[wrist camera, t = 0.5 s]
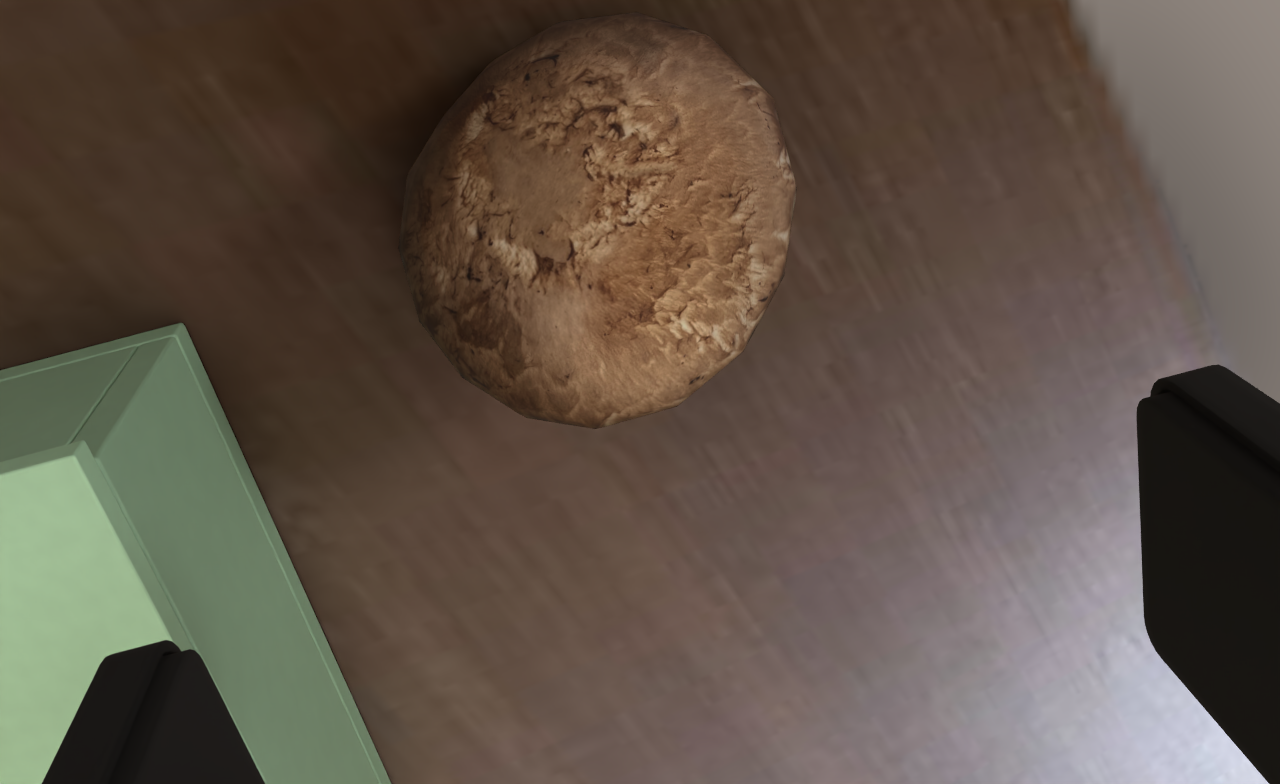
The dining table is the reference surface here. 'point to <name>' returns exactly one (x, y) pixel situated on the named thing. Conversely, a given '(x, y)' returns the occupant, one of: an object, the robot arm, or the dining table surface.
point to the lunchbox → (201, 541)
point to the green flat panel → (64, 599)
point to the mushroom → (599, 220)
